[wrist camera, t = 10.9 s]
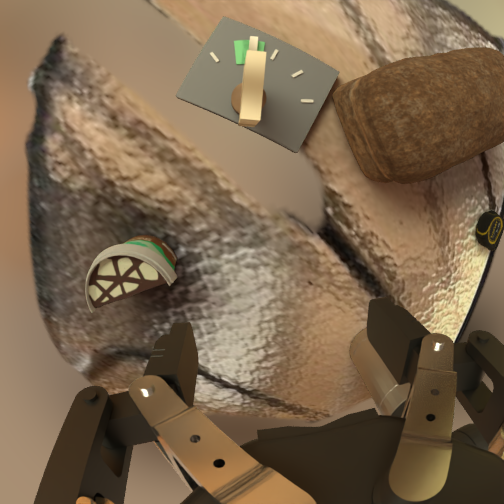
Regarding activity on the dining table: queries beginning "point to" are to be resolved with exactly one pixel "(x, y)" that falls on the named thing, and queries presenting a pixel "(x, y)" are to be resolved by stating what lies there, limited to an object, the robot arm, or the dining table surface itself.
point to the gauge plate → (275, 82)
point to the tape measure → (490, 230)
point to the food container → (129, 270)
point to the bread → (424, 113)
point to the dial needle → (251, 87)
